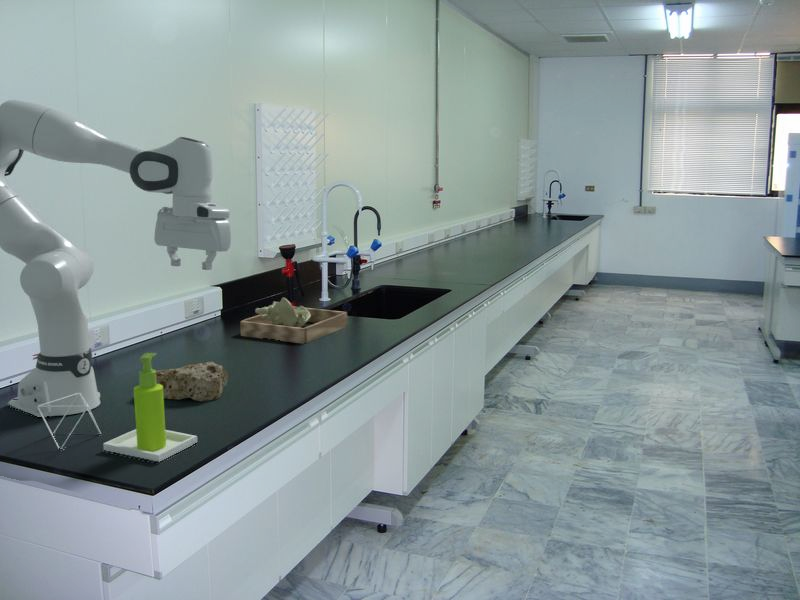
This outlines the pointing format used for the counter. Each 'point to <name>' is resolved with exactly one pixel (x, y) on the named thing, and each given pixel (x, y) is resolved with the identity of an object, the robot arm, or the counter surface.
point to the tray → (129, 447)
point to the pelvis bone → (284, 314)
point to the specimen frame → (323, 325)
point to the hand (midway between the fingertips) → (191, 267)
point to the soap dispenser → (149, 408)
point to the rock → (193, 381)
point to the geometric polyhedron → (66, 413)
